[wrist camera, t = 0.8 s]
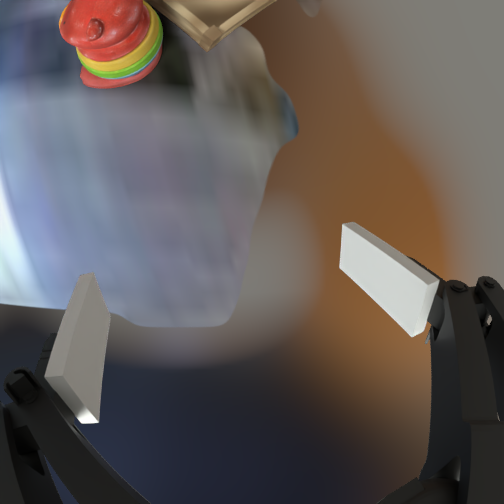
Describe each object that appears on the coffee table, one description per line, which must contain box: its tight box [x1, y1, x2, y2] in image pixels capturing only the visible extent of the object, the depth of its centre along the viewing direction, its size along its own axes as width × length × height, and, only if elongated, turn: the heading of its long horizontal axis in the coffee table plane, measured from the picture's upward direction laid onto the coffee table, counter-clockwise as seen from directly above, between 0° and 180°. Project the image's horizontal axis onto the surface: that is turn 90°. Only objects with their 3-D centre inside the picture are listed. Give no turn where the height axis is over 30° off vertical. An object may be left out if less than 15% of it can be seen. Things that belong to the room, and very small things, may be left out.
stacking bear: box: [59, 0, 163, 88], centre depth 20 cm, size 11×10×18 cm
